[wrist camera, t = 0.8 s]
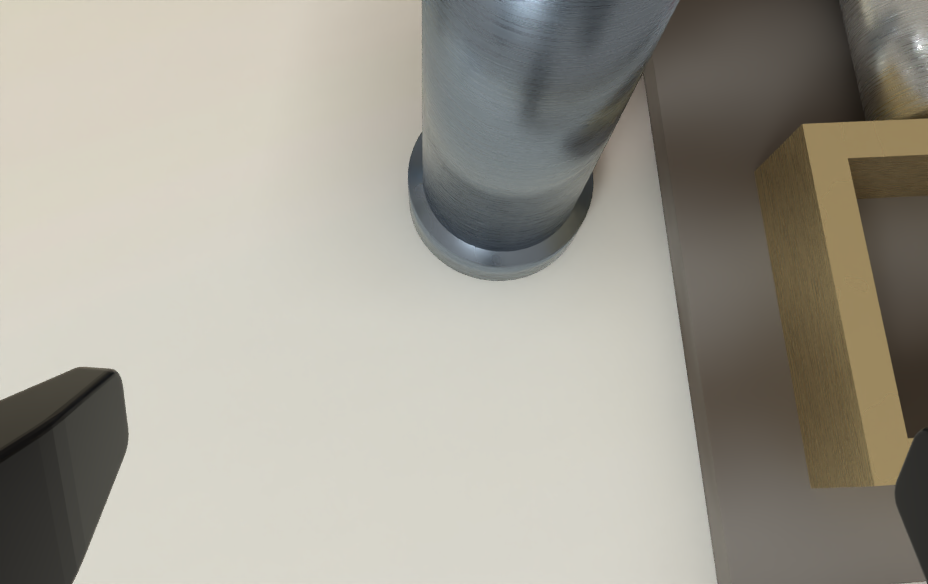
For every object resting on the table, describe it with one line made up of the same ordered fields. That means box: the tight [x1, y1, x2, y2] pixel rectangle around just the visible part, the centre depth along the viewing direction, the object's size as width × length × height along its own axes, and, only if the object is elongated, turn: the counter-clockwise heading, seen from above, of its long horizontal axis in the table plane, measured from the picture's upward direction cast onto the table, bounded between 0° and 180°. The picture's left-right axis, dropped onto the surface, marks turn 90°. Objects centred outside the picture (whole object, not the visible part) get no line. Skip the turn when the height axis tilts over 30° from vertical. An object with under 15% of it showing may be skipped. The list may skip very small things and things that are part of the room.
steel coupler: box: [408, 0, 680, 281], centre depth 17 cm, size 5×5×13 cm
